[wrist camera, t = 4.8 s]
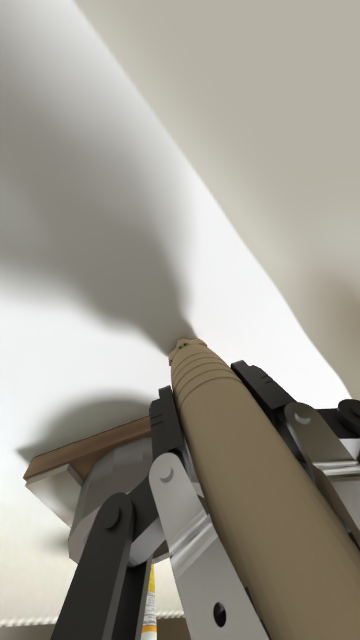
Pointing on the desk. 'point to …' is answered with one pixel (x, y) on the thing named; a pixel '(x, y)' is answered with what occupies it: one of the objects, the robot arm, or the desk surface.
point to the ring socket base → (95, 478)
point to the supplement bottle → (150, 611)
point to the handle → (265, 505)
